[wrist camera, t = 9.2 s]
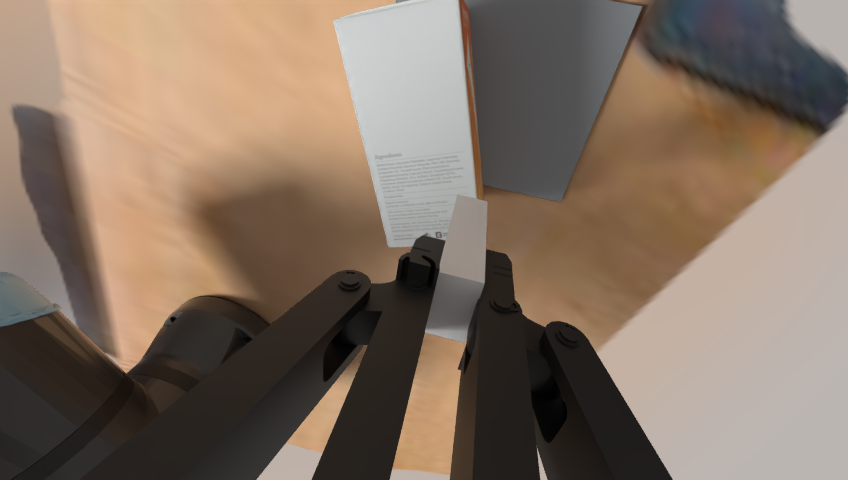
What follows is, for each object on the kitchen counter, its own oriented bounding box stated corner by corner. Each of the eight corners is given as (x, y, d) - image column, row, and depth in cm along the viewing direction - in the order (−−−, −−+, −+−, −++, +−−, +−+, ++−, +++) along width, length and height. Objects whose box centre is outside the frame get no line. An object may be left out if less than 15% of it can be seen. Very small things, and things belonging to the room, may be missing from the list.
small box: (483, 245, 20) (460, -14, 14) (386, 250, 22) (327, 17, 16) (485, 195, 27) (470, 6, 21) (411, 201, 29) (377, 26, 23)
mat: (381, 160, 28) (380, 162, 27) (401, -36, 21) (399, -38, 21) (559, 200, 27) (560, 202, 26) (639, 7, 20) (642, 6, 20)
